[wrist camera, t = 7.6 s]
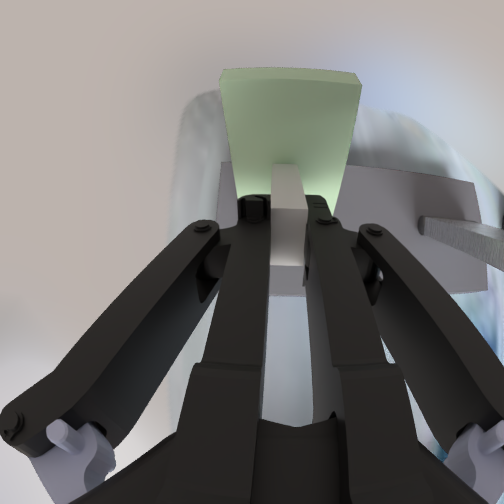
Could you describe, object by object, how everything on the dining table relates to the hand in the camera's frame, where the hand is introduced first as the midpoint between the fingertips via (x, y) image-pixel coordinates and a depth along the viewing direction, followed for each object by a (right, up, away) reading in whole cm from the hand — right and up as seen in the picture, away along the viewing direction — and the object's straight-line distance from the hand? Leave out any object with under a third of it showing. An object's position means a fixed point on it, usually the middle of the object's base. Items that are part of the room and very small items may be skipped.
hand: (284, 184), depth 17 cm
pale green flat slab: (+1, -1, +6) cm, 6 cm away
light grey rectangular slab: (+17, -2, +4) cm, 17 cm away
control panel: (+9, -3, +10) cm, 14 cm away
